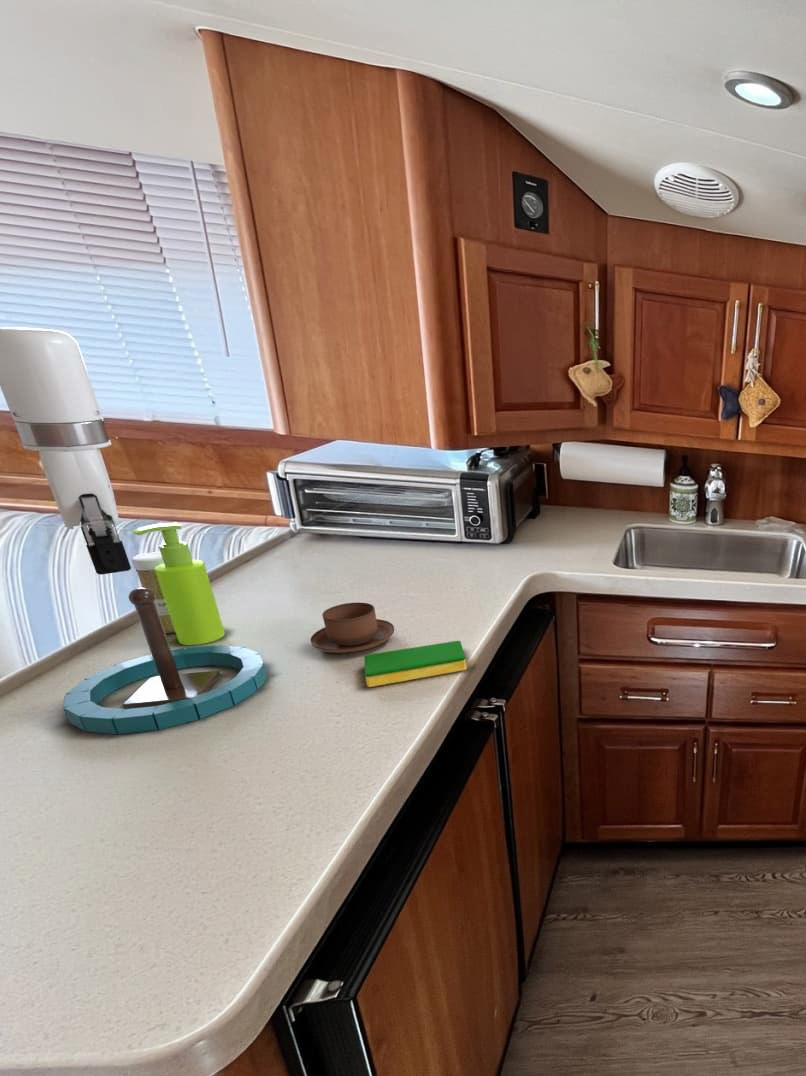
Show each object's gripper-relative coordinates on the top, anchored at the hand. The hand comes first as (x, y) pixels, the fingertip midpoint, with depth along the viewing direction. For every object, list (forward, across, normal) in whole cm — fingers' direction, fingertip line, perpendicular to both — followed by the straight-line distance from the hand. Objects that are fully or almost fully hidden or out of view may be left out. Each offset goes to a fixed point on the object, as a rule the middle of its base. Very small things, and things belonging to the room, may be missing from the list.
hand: (110, 561), depth 86 cm
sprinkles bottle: (+20, -21, +5) cm, 29 cm away
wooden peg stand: (+20, +4, +2) cm, 20 cm away
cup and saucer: (+20, +2, +25) cm, 32 cm away
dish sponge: (+20, +18, +29) cm, 40 cm away
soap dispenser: (+20, -15, +7) cm, 26 cm away
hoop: (+20, +4, +2) cm, 20 cm away
